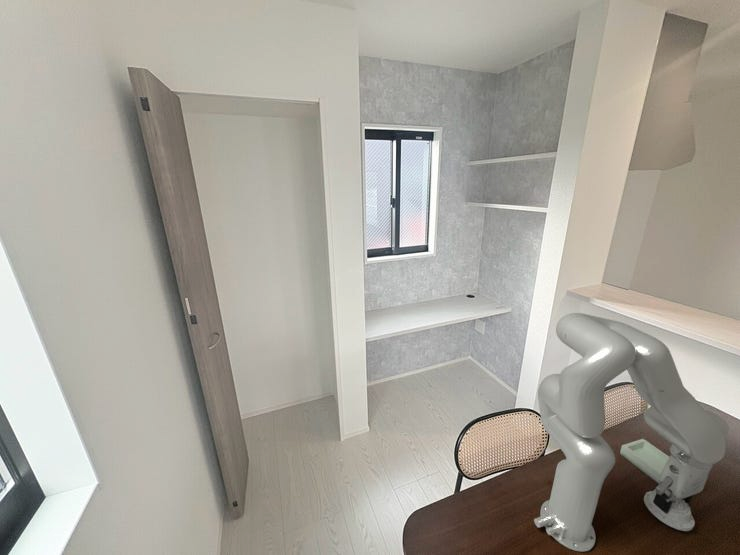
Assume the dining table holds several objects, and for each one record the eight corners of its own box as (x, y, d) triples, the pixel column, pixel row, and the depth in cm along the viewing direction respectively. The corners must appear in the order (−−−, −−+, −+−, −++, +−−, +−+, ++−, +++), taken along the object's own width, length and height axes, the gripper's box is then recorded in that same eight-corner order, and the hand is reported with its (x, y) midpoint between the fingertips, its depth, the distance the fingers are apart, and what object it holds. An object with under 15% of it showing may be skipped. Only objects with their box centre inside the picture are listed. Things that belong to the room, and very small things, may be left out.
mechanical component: (659, 526, 78) (703, 536, 76) (664, 515, 77) (709, 524, 75) (635, 491, 88) (674, 498, 86) (639, 480, 87) (679, 487, 85)
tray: (676, 497, 88) (679, 488, 87) (619, 453, 102) (622, 445, 101) (699, 488, 90) (702, 479, 89) (640, 446, 105) (643, 438, 104)
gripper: (687, 474, 71) (664, 527, 76) (733, 459, 75) (708, 509, 80) (651, 449, 78) (632, 498, 83) (695, 436, 82) (675, 484, 87)
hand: (670, 503), depth 81 cm, fingers closed on mechanical component, 7 cm apart
